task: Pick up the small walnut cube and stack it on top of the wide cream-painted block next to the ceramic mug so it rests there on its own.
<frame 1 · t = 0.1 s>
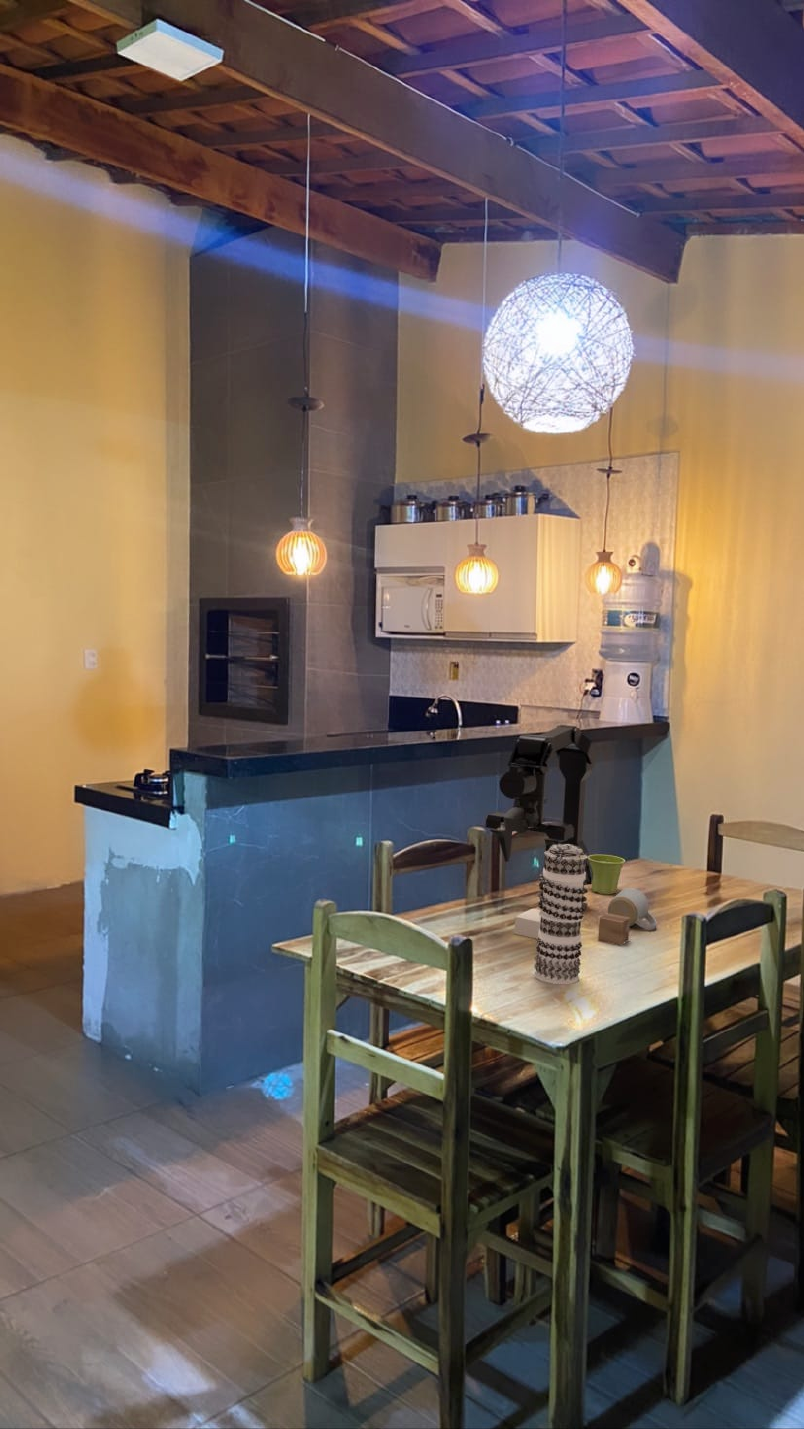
hand: (526, 865, 220), 15 cm above the table, tool pointing down, fingers open, 9 cm apart
cream block: (541, 934, 221), on the table
decorative candle: (556, 977, 193), on the table
walnut cube: (613, 940, 219), on the table
ceramic mug: (632, 925, 232), on the table
plant pot: (603, 892, 262), on the table
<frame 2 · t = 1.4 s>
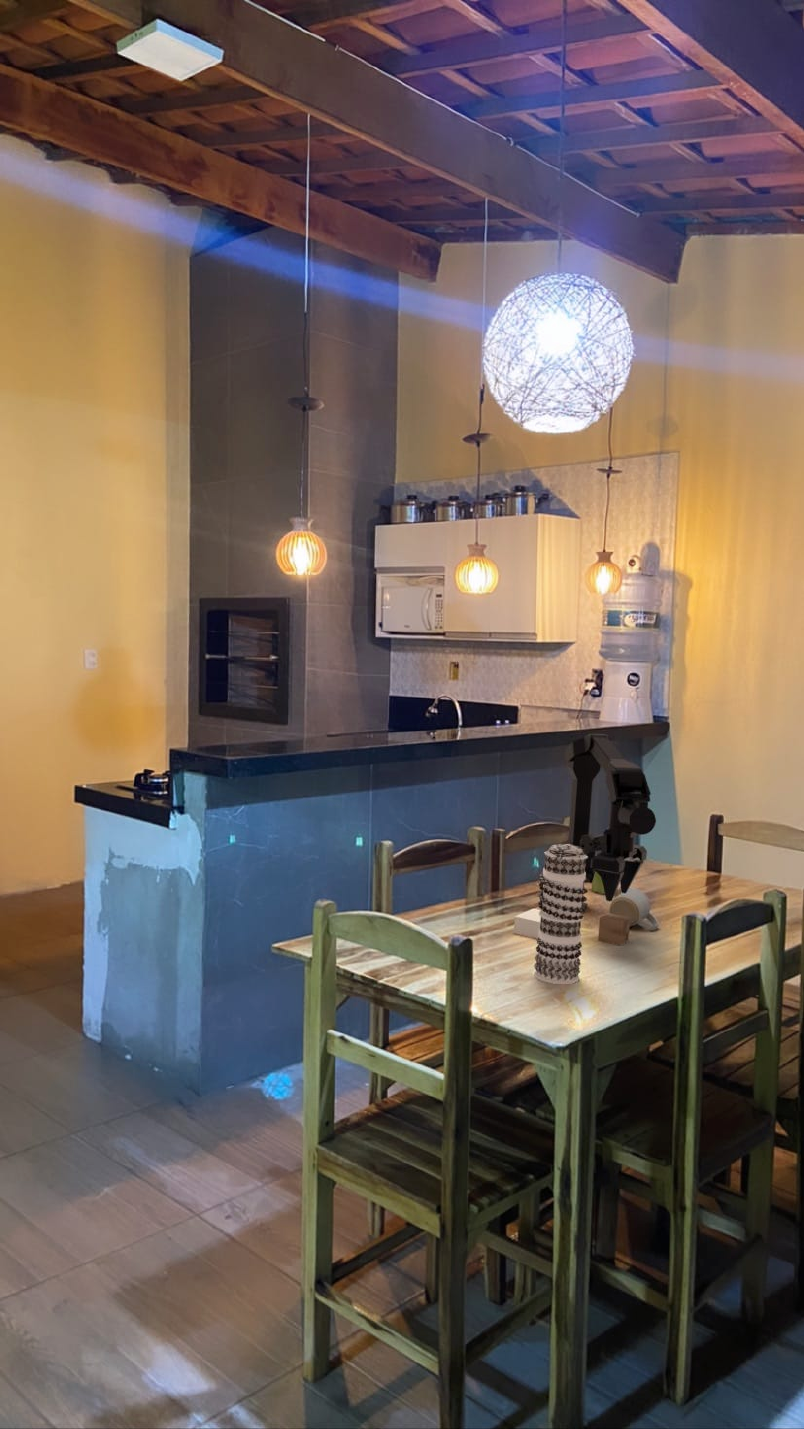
hand: (616, 896, 218), 9 cm above the table, tool pointing down, fingers open, 9 cm apart
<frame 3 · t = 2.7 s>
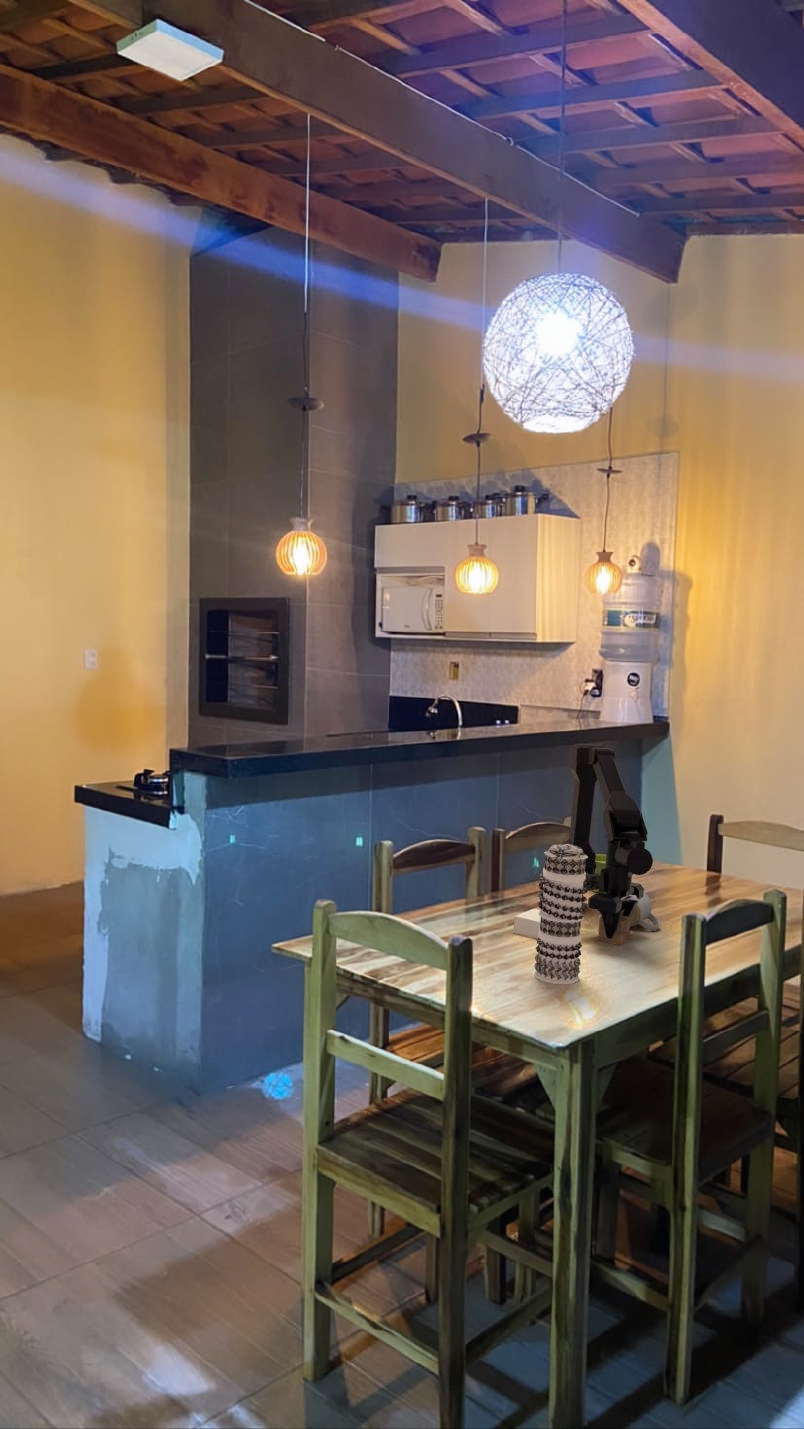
hand: (613, 935, 219), 1 cm above the table, tool pointing down, fingers closed on walnut cube, 5 cm apart
walnut cube: (613, 940, 219), on the table, touching gripper
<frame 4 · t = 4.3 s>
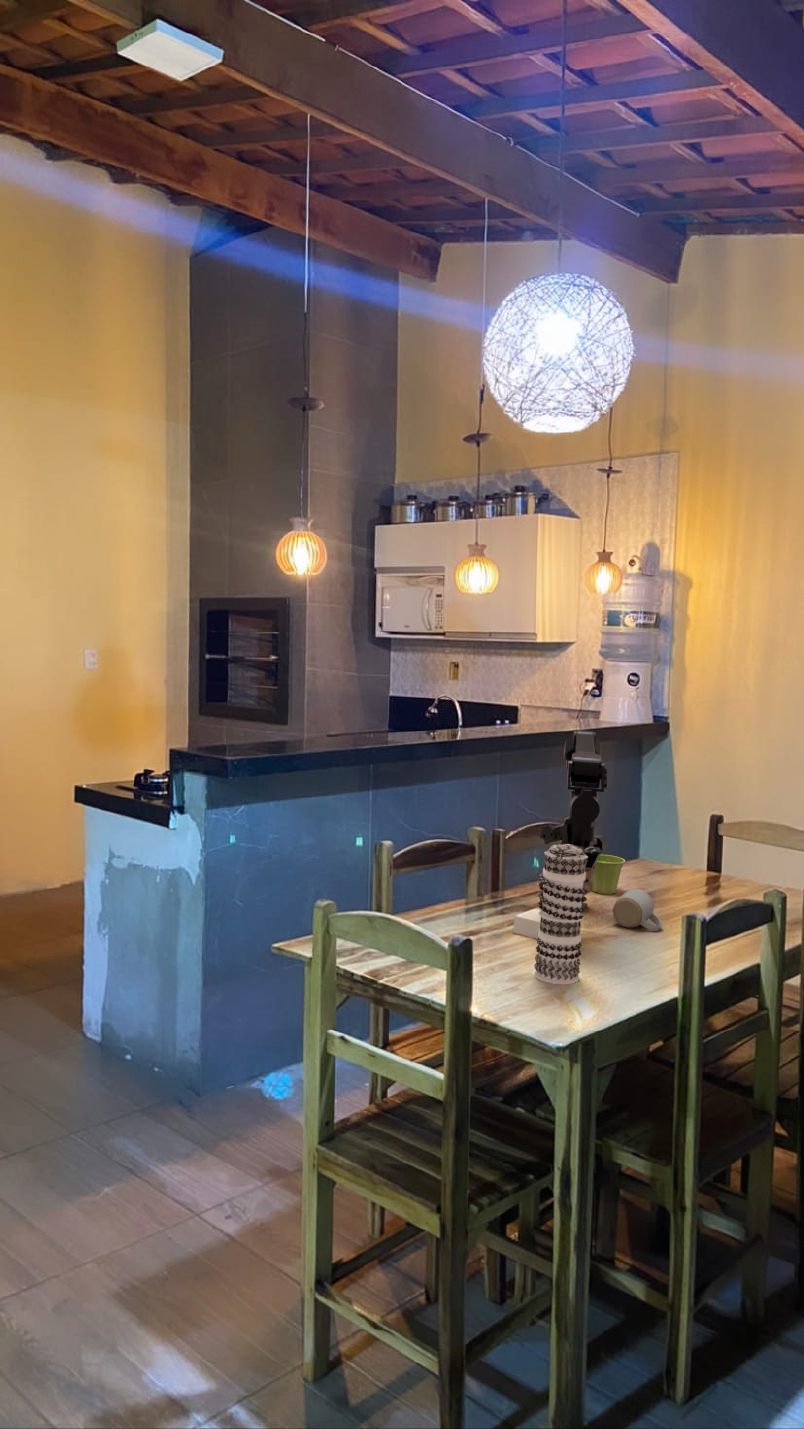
hand: (577, 886, 219), 11 cm above the table, tool pointing down, fingers closed on walnut cube, 5 cm apart
walnut cube: (577, 891, 219), point 10 cm above the table, touching gripper
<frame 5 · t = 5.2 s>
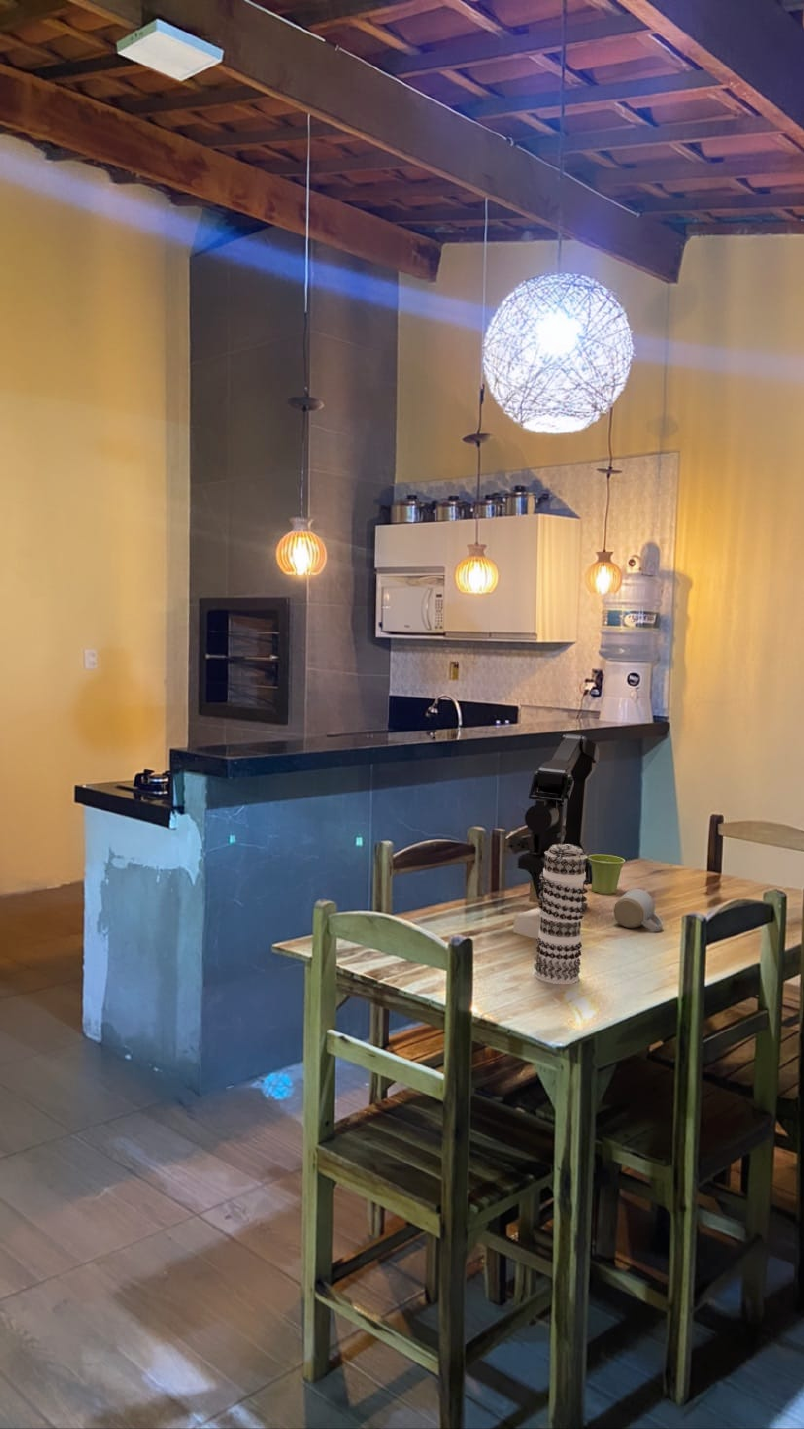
hand: (544, 896, 221), 8 cm above the table, tool pointing down, fingers closed on walnut cube, 5 cm apart
walnut cube: (544, 901, 221), point 7 cm above the table, touching gripper
when the fingers open (6 cm above the table, at t = 5.8 s): walnut cube drops 2 cm, resting on cream block.
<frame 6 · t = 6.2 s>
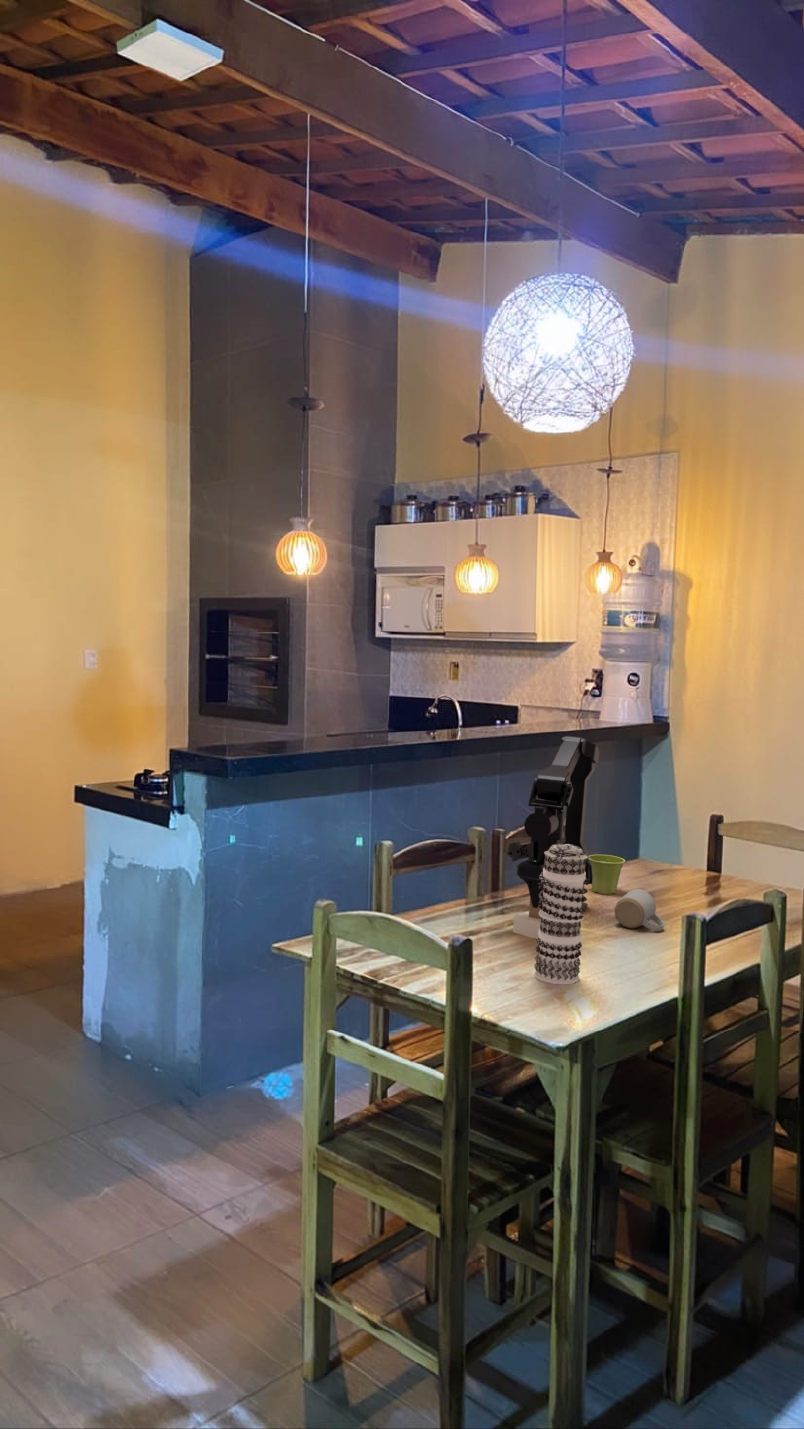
hand: (544, 903, 221), 6 cm above the table, tool pointing down, fingers open, 9 cm apart
cream block: (541, 934, 221), on the table, touching walnut cube
walnut cube: (544, 916, 221), point 4 cm above the table, touching cream block
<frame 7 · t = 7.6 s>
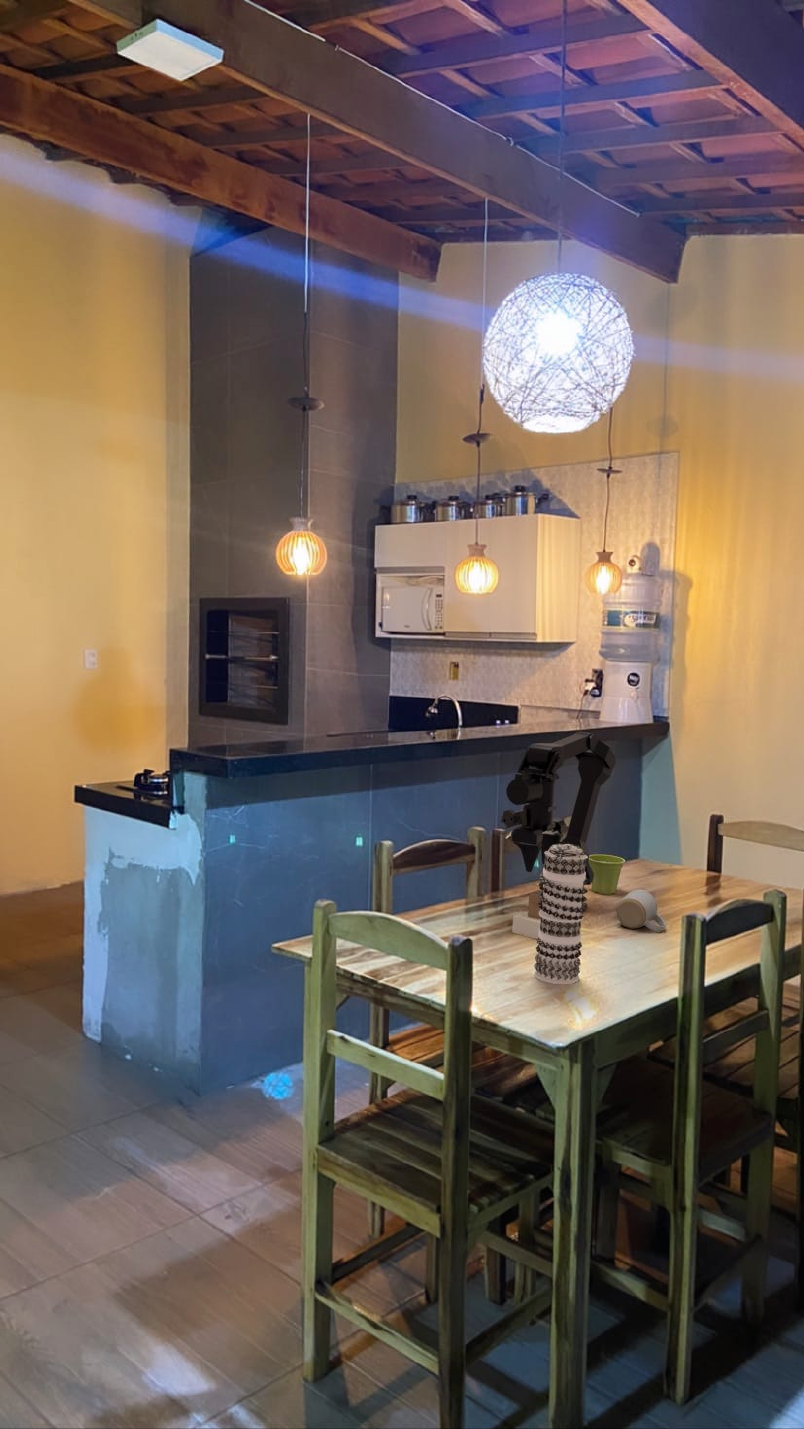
hand: (536, 867, 231), 12 cm above the table, tool pointing down, fingers open, 9 cm apart
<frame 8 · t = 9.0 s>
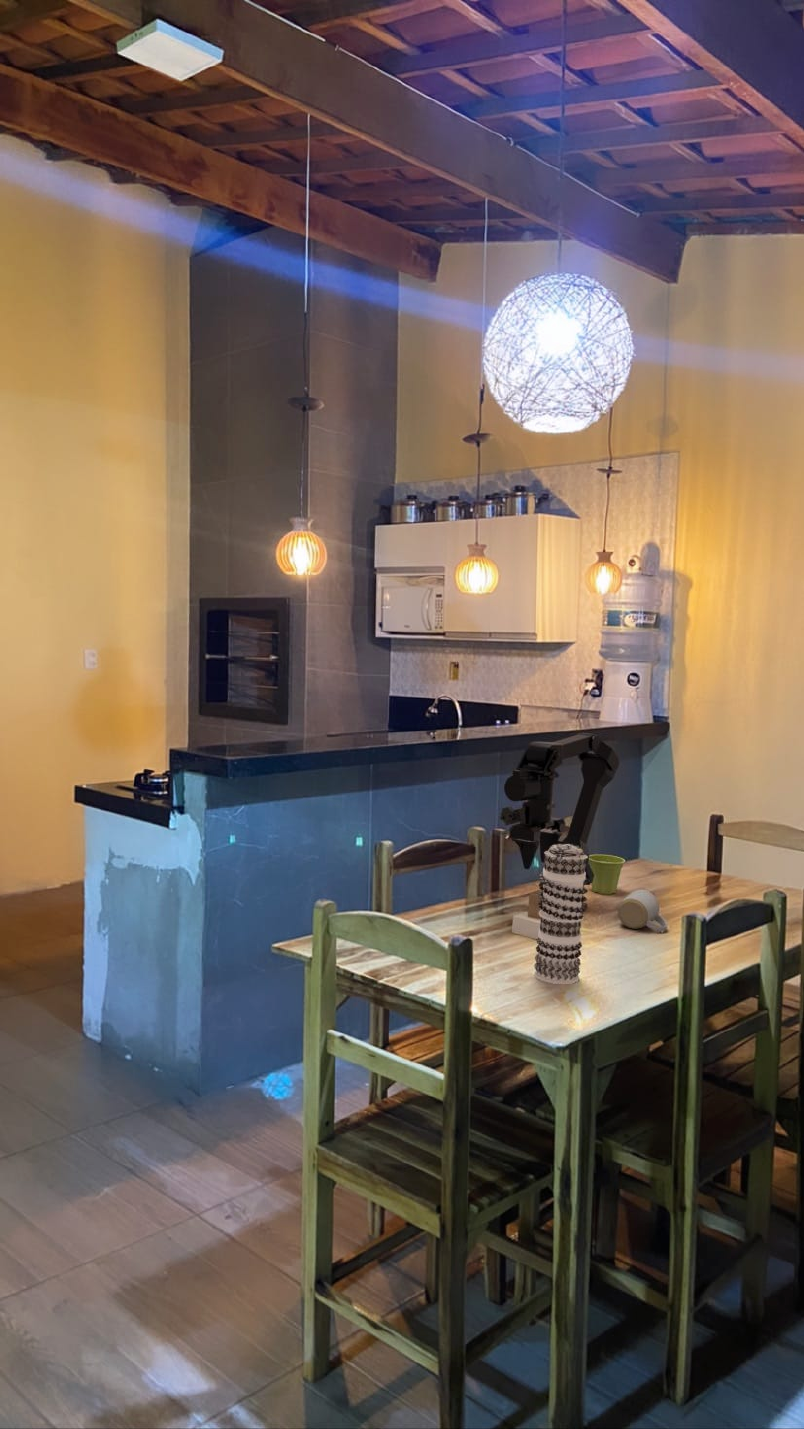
hand: (535, 865, 232), 12 cm above the table, tool pointing down, fingers open, 9 cm apart
at the end: walnut cube 0.4 cm off-centre on the cream block, point 4.0 cm above the cream block's base; walnut cube tilted 0°; the gripper is holding nothing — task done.
